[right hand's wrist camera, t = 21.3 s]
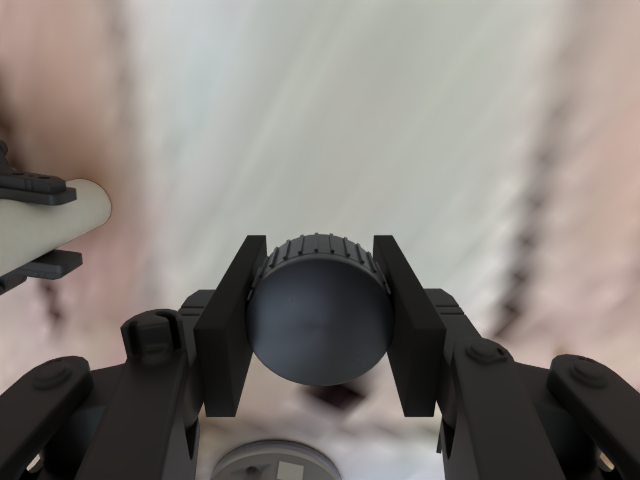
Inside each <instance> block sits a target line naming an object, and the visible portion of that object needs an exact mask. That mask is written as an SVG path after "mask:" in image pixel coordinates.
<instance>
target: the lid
mask: <svg viewBox="0 0 640 480" xmlns="http://www.w3.org/2000/svg"><path fill="white" fill-rule="evenodd" d="M391 296H392V294H391V291H390V289H389V286H388V284H387V281H386V278H385V276H384V273H382V271H381V268H380V265H379V263H378V262H376V263H375V261H374V260H373V259H372V256H371V253H370V252H369V251H368V252H366V251H365V250H363V249H362V248H361V246H360V244H358V243H357V244H355V243H353V242H351V241H349V240H347V238H346V237H344V238H341V237H337V236H333V234H330V235H323V234H318V233H315V235H307V236H304V235H300V237H299V238H296V239H293V240H291V241H290V239H289V240H287V241H286V243H285V244H283V245H282V246H280V247H279V248H278V247H276V248H275V249H274V252H273V253H272V254H271V255H270V256H269V257H268V256H266V258H265V260H264V262H263V265H262V268H261V267H259V268H258V271H257V273H256V276H255V279H254V281H253V284H252V286H251V291H250V293H249V296H248V299H247V303H248V304H247V308H246V312H245V325H246V335H247V338H248V341H249V344H250V346H251V348H252V350H253V352H254V353H255V355H256V356H257V357H258V359H259V360H260V361H261V362H262V363H263V364H264V365H265V366H266V367H267V368H269V369H270V370H271V371H273V372H274V373H276V374H277V375H279V376H281V377H283V378H285V379H287V380H290V381H293V382H296V383H300V384H304V385H311V386H328V385H335V384H340V383H344V382H347V381H350V380H353V379H355V378H357V377H359V376H361V375H363V374H364V373H366V372H367V371H369V370H370V369H371V368H373V367H374V366H375V365H376V364H377V363H378V362H379V361H380V360H381V358H382V357H383V356H384V354H385V353H386V351H387V350H388V348H389V346H390V344H391V341H392V338H393V334H394V322H395V313H394V308H393V305H392V302H391V299H390V297H391Z"/></svg>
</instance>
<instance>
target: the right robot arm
mask: <svg viewBox="0 0 640 480" xmlns="http://www.w3.org/2000/svg"><path fill="white" fill-rule="evenodd" d="M266 256H267V247H266V235H247V237H246V239H245V241H244V242H243V244H242V246H241V247H240V249H239V251H238V253H237V254H236V256H235V258H234V259H233V261H232V263H231V265H230V266H229V268H228V270H227V271H226V273H225V275H224V277H223V278H222V280H221V282H220V283H219V285H218V287H217V289H216V290H198V291H197V292H195V293H194V294H192V295H191V296H189V297H188V298H187V299H186V300H185V302H184V303H183V305H182V306H181V308H180V309H179V310H178V312H177V311H175V310H171V309H155V310H151V311H146V312H143V313H141V314H138V315H135V316H134V317H132V318H131V319H129V320H127V321H126V322H125V323H124V324H123V325H122V326H121V328H120V329H121V333H122V337H123V341H124V346H125V350H126V354H127V360H126V362H125V363H124V364H120V365H116V366H112V367H107V368H102V369H97V370H93V371H91V370H90V367H89V363H88V361H87V360H86V359H84V358H83V357H78V356H67V357H60V358H56V359H52V360H49V361H47V362H45V363H43V364H41V365H39V366H37V367H35V368H33V369H32V370H30V371H29V372H28V373H26V374H25V375H23V376H22V377H21V378H20V379H19V380H18V381H16V382H15V383H14V384H13V385H12V386H11V387H10V388H8V389H7V390H6V391H5V392H4V393H3V394H2V395H0V480H195V473H196V464H197V454H198V445H199V436H200V426H199V420H198V415H199V412H200V410H201V407H202V405H203V402H204V405H205V412H206V417H235V415H236V412H237V408H238V404H239V401H240V397H241V393H242V390H243V386H244V383H245V379H246V375H247V372H248V368H249V365H250V361H251V357H252V354H253V350H252V348H251V346H250V344H249V341H248V338H247V335H246V325H245V312H246V308H247V304H248V303H247V299H248V296H249V293H250V291H251V286H252V284H253V281H254V279H255V276H256V273H257V271H258V268H259V267H261V268H262V265H263V262H264V260H265V258H266ZM373 260H374V261H375V263H376V262H378V263H379V265H380V268H381V271H382V273H384V276H385V278H386V281H387V284H388V286H389V289H390V291H391V294H392V296H391V297H390V299H391V302H392V305H393V308H394V313H395V322H394V334H393V338H392V341H391V344H390V346H389V348H388V350H387V355H388V358H389V362H390V365H391V369H392V373H393V376H394V380H395V383H396V387H397V391H398V394H399V398H400V401H401V405H402V409H403V412H404V416H405V417H434V411H435V404H436V401H437V403H438V406H439V408H440V411H441V413H442V420H441V426H440V432H439V438H438V445H437V451H436V453H441V450H442V454H443V463H444V472H445V480H640V393H639V392H637V391H636V390H635V389H634V388H633V387H632V386H630V385H629V384H628V383H627V382H626V381H625V380H624V379H622V378H621V377H620V376H619V375H618V374H617V373H615V372H614V371H612V370H611V369H609V368H608V367H607V366H605V365H603V364H601V363H598V362H596V361H595V360H593V359H590V358H587V357H586V358H585V357H583V356H578V355H569V354H565V355H559V356H556V357H555V358H554V359H553V360H552V362H551V366H550V369H545V368H540V367H535V366H531V365H526V364H522V363H518V362H515V361H514V359H513V357H512V356H511V354H510V353H509V352H508V350H506V349H505V348H504V347H502V346H501V345H500V344H498V343H496V342H493V341H491V340H489V339H485V338H482V337H481V336H480V334H479V333H478V331H477V330H476V329H475V327H474V326H473V324H472V323H471V322H470V320H469V319H468V317H467V316H466V315H464V312H463V311H462V309H461V308H460V307H459V305H458V304H457V302H456V301H455V299H454V298H453V297H452V296H451V295H450V294H448V293H447V292H445V291H444V290H442V289H423V287H422V286H421V284H420V282H419V280H418V279H417V277H416V275H415V274H414V272H413V270H412V268H411V267H410V265H409V263H408V262H407V260H406V258H405V256H404V255H403V253H402V251H401V250H400V248H399V246H398V244H397V243H396V241H395V239H394V238H393V236H392V235H374V243H373ZM602 452H603V453H604V455H605V456H606V457H607V458H608V459H609V460H610V462H611V463H612V464H613V465H614V468H613V469H610V468H609V467H608V466H607V465H606V464H605V463H604V461H603V460H602V459H601V458H600V456H601V453H602ZM37 454H39V456H40V460H39V461H38V462H37V463H36V464H35V466H34V467H32V468H31V469H30V470H29V471H28V470H27V469H26V468H27V466H28V465H29V464H30V463H31V462H32V460H33V459H34V458H35V457H36V456H37ZM211 480H341V478H340V475H339V473H338V471H337V469H336V468H335V466H334V465H333V464H332V463H331V462H330V461H329V460H328V459H327V458H326V457H325V456H323V455H322V454H320V453H319V452H317V451H315V450H313V449H311V448H309V447H307V446H304V445H301V444H297V443H293V442H287V441H261V442H255V443H251V444H247V445H244V446H242V447H239V448H237V449H235V450H233V451H232V452H230V453H229V454H227V455H226V456H225V457H224V458H223V459H221V461H220V462H219V463H218V464H217V466H216V467H215V469H214V471H213V473H212V476H211Z"/></svg>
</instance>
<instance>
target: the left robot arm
mask: <svg viewBox="0 0 640 480" xmlns="http://www.w3.org/2000/svg"><path fill="white" fill-rule="evenodd" d="M7 153H8V148H7V145H6V144H5V142H4V141H2V140H1V139H0V199H8V200H14V201H21V202H28V203H35V204H43V205H50V206H58V205H63V204H66V203H69V202H72V201H75V200H77V193H76V188H72V187H66V181H65V180H63V179H61V178H59V177H55V176H47V175H41V174H34V173H27V172H20V171H18V170H16V169H15V168H12V167H11V166H10V165H9V164H8V162H7V160H6V158H5V156H6V155H7ZM82 264H83V262H82V254H81V253H78V252H71V251H63V250H56V249H53V250H51V251H49V252H47V253H46V254H44V255H42V256H40V257H38V258H36V259H34V260H32V261H30V262H28V263H26V264H24V265H22V266H20V267H18V268H16V269H14V270H12V271H10V272H8V273H6V274H4V275H2V276H0V295H2V294H4V293H5V292H7V291H9V290H11V289H13V288H14V287H16V286H18V285H20V284H21V283H23V282H25V281H26V279H27V276H28V277H36V278H43V279H44V278H45V279H51V280H55V279H59V278H62V277H63V276H65V275H66V274H68V273H69V272H71V271H73V270H74V269H76V268H77V267H79V266H80V265H82Z"/></svg>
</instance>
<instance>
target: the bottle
mask: <svg viewBox="0 0 640 480" xmlns="http://www.w3.org/2000/svg"><path fill="white" fill-rule="evenodd" d="M66 187H72V188H76V193H77V200H75V201H72V202H69V203H66V204H63V205H58V206H50V205H43V204H35V203H28V202H21V201H14V200H8V199H0V276H2V275H4V274H6V273H8V272H10V271H12V270H14V269H16V268H18V267H20V266H22V265H24V264H26V263H28V262H30V261H32V260H34V259H36V258H38V257H40V256H42V255H44V254H46V253H47V252H49V251H51V250H53V249H55V248H57V247H59V246H61V245H63V244H65V243H67V242H69V241H71V240H73V239H75V238H77V237H79V236H81V235H83V234H85V233H87V232H89V231H91V230H93V229H95V228H96V227H98V226H100V225H102V224H104V223H105V222H106V221H107V220H108V218H109V216H110V214H111V203H110V199H109V197H108V195H107V194H106V192H105V191H104V190H103V189H102V188H101V187H100V186H99V185H97V184H96V183H94V182H92V181H89V180H85V179H75V180H71V181H67V182H66Z"/></svg>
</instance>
